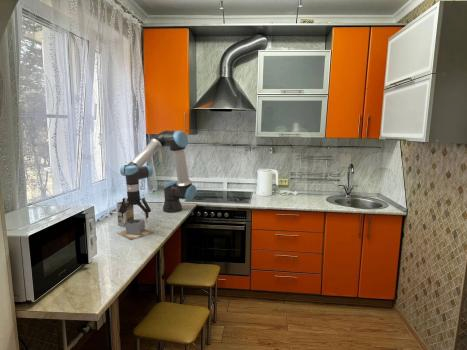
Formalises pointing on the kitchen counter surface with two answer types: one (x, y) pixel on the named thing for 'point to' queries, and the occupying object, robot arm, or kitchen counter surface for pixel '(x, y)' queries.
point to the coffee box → (128, 211)
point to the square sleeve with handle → (135, 227)
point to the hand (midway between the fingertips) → (135, 222)
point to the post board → (131, 237)
